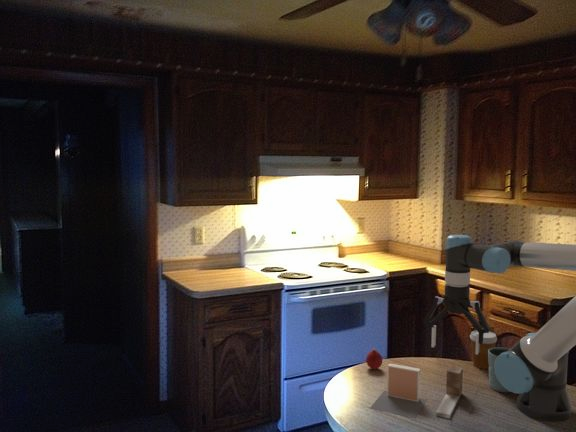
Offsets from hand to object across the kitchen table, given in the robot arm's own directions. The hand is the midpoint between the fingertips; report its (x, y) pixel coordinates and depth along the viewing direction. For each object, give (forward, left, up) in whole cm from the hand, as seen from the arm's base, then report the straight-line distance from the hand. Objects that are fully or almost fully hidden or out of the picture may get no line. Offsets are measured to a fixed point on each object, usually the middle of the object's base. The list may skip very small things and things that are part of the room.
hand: (455, 349), depth 176 cm
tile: (+14, +9, -15) cm, 22 cm away
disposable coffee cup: (-4, -31, -16) cm, 35 cm away
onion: (+30, -9, -16) cm, 35 cm away
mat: (+14, +14, -16) cm, 25 cm away
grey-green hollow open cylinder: (-13, -15, -16) cm, 25 cm away
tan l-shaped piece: (0, +7, -16) cm, 17 cm away
